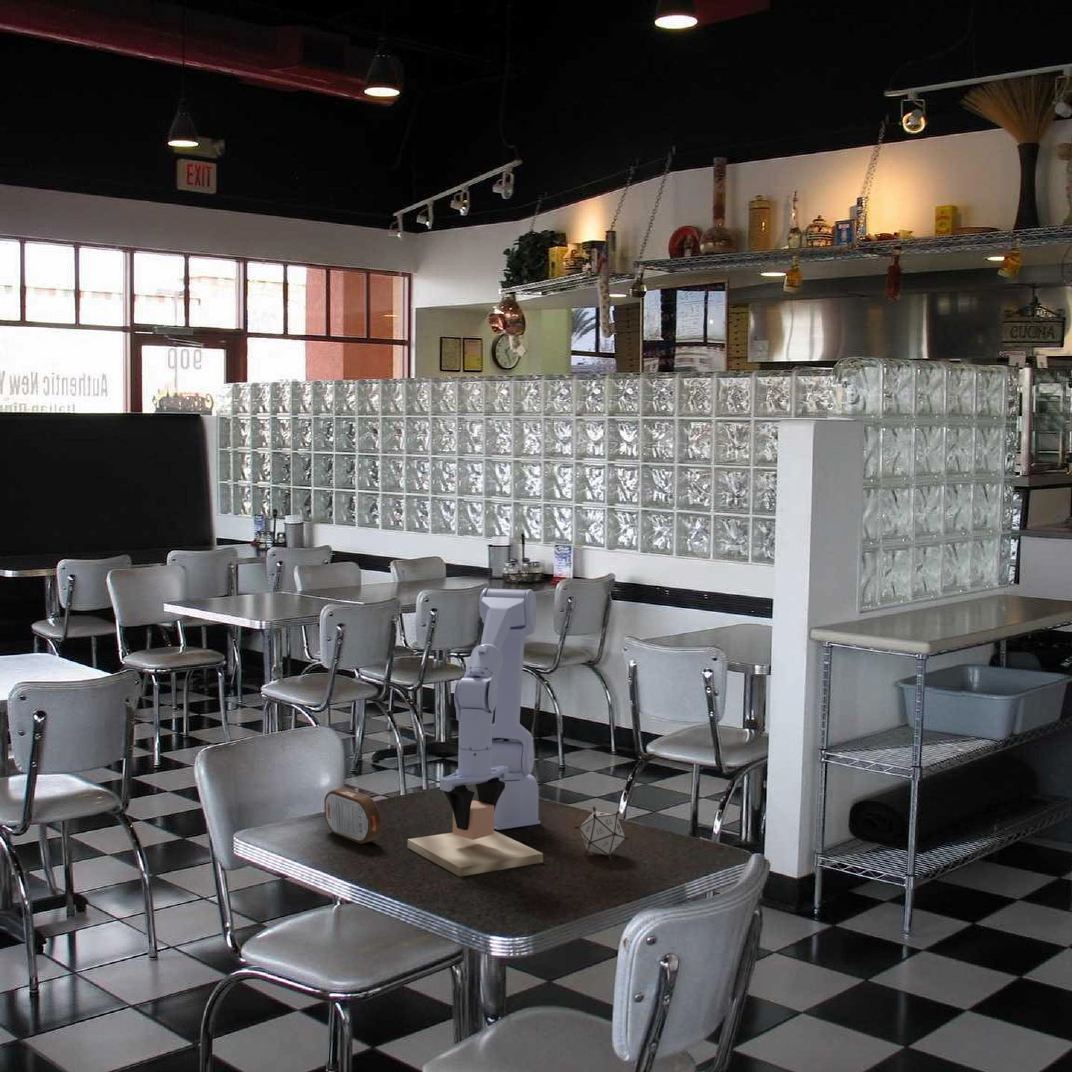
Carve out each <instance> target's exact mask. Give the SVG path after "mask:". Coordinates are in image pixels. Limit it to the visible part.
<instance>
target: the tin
mask: <svg viewBox="0 0 1072 1072" xmlns="http://www.w3.org/2000/svg"><path fill="white" fill-rule="evenodd" d="M378 807H379V806H378V805H377V802H375V800H374V798H372V797H371V796H369V795H368V794H364V793H362V792H358V791H356V790H353V789H350V788H348V787H343V786H342V787H339V788H336V789H333V790H330V791H328V792H327V794H326V795H325V796H324V808H323V809H324V817H325V821H326V824H327V826H328V828H329V829H330V831H331V832H333V834H335V835H337V836H340V837H342V838H344V839H347V840H349V841H352V842H355V843H357V844H360V845H361V844H362V845H364V844H367V843H371V842H372V843H373V842H375V841H377V840H378V839H379V838H380V835H381V833H382V832H381V831H382V816H381V812H380V809H379V808H378Z"/></svg>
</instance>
